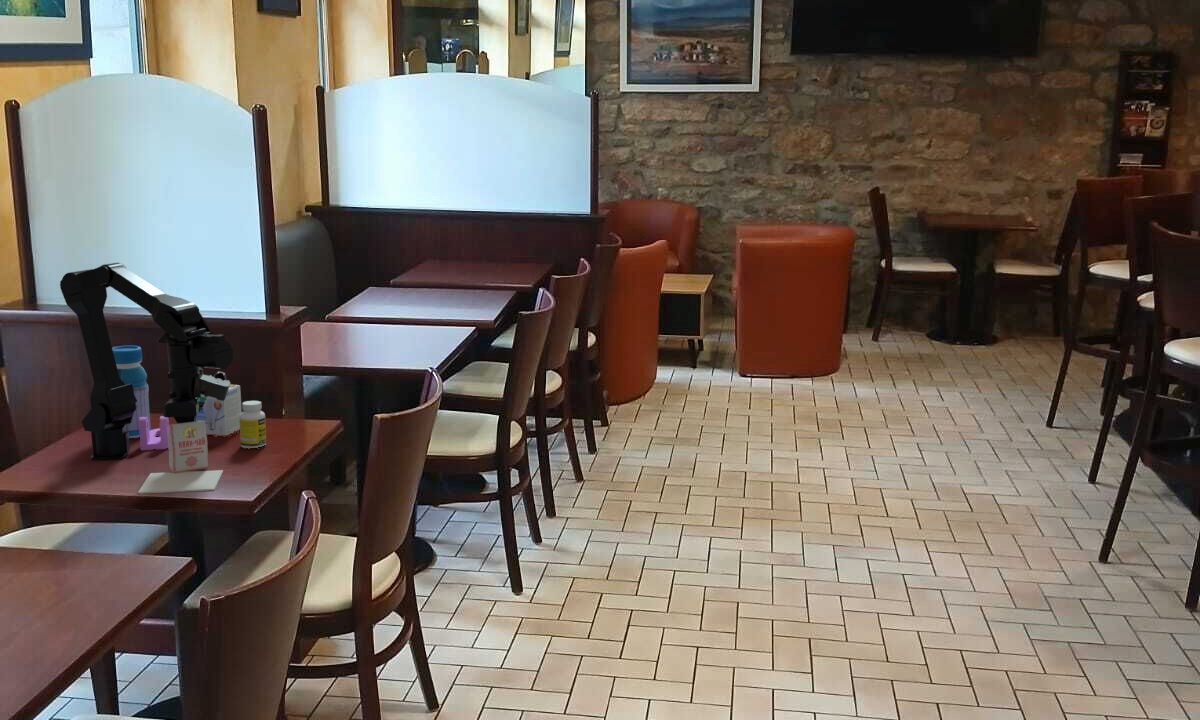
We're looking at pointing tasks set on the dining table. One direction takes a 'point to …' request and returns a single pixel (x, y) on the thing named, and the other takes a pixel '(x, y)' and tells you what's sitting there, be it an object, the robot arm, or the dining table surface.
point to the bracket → (154, 434)
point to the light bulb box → (221, 412)
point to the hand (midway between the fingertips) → (190, 439)
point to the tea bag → (188, 447)
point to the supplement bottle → (252, 425)
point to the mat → (181, 481)
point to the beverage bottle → (133, 383)
